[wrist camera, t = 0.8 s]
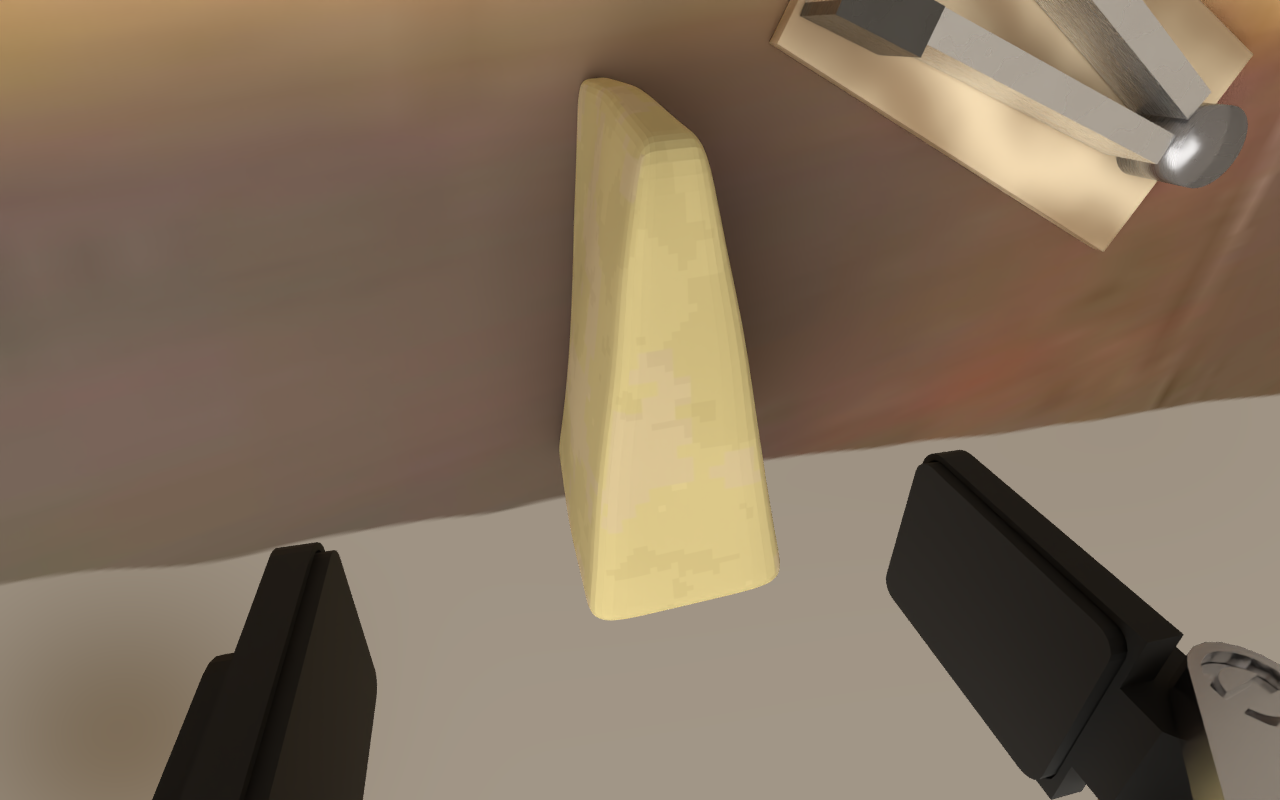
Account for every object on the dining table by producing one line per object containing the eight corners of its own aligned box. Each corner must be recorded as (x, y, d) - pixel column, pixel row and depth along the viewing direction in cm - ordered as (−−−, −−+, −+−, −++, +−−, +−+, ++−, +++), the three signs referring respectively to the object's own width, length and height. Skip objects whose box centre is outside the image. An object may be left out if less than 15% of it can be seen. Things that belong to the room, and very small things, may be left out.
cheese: (494, 85, 31) (515, 124, 18) (687, 68, 32) (830, 93, 20) (554, 456, 42) (593, 639, 29) (695, 430, 44) (789, 592, 31)
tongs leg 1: (1121, 127, 38) (1177, 135, 35) (1098, 164, 39) (1151, 175, 36) (819, -35, 30) (859, -42, 27) (799, 16, 31) (835, 14, 28)
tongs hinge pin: (1154, 85, 38) (1221, 90, 34) (1193, 119, 39) (1261, 127, 36) (1103, 156, 39) (1162, 168, 36) (1142, 186, 41) (1203, 200, 38)
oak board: (918, -264, 28) (932, -273, 27) (1236, 54, 39) (1253, 54, 38) (769, 43, 33) (777, 43, 32) (1091, 247, 44) (1103, 251, 43)
